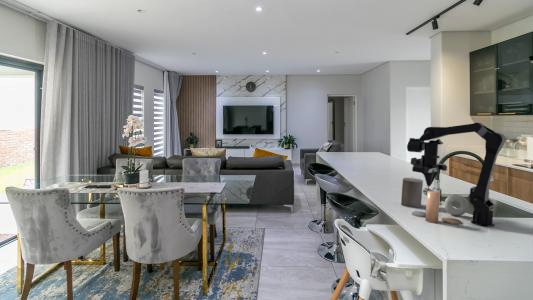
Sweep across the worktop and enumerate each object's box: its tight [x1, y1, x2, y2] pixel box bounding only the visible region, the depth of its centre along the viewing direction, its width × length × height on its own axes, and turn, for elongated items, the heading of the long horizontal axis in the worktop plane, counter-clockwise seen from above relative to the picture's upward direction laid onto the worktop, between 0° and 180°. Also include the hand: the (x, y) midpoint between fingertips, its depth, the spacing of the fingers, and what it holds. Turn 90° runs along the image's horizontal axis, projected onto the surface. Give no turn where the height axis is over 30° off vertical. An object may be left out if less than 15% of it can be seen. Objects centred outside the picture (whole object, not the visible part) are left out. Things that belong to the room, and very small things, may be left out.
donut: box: [443, 194, 470, 217], centre depth 152 cm, size 10×4×10 cm, turn 68°
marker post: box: [425, 190, 441, 224], centre depth 143 cm, size 5×5×13 cm
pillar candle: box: [400, 176, 424, 209], centre depth 169 cm, size 10×10×15 cm
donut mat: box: [440, 217, 462, 225], centre depth 143 cm, size 8×8×1 cm
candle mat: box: [411, 210, 426, 218], centre depth 153 cm, size 8×8×1 cm
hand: (428, 185), depth 156 cm, fingers closed
